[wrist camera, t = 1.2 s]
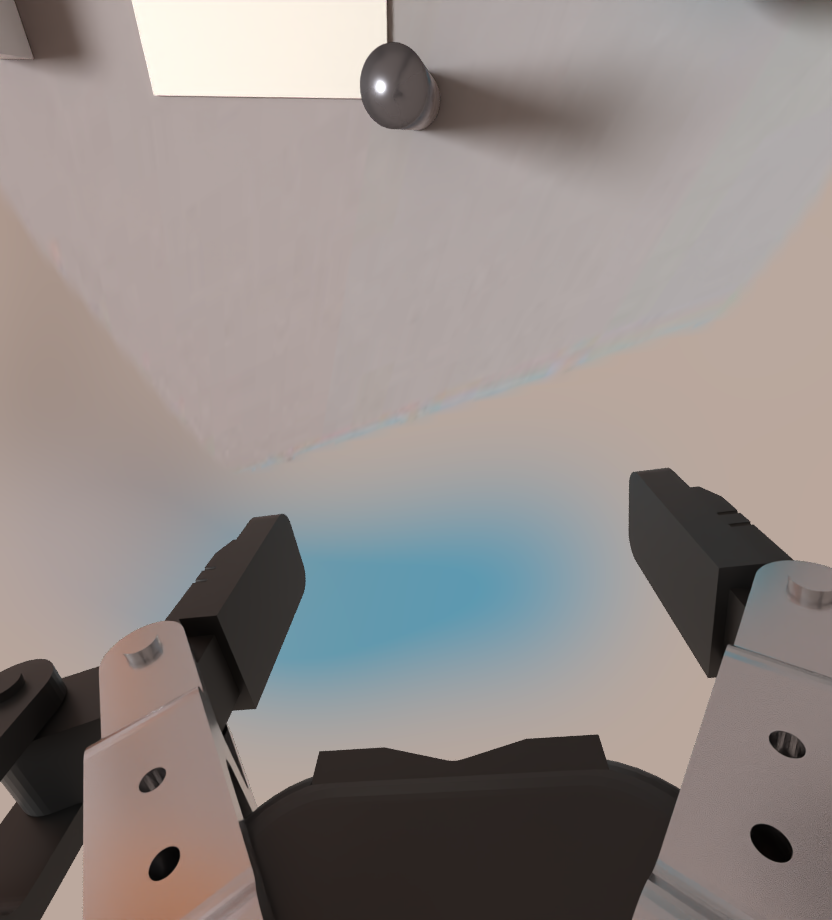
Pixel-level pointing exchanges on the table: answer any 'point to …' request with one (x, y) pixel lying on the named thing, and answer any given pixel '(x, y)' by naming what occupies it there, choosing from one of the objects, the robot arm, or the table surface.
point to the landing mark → (259, 46)
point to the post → (398, 88)
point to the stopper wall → (12, 33)
